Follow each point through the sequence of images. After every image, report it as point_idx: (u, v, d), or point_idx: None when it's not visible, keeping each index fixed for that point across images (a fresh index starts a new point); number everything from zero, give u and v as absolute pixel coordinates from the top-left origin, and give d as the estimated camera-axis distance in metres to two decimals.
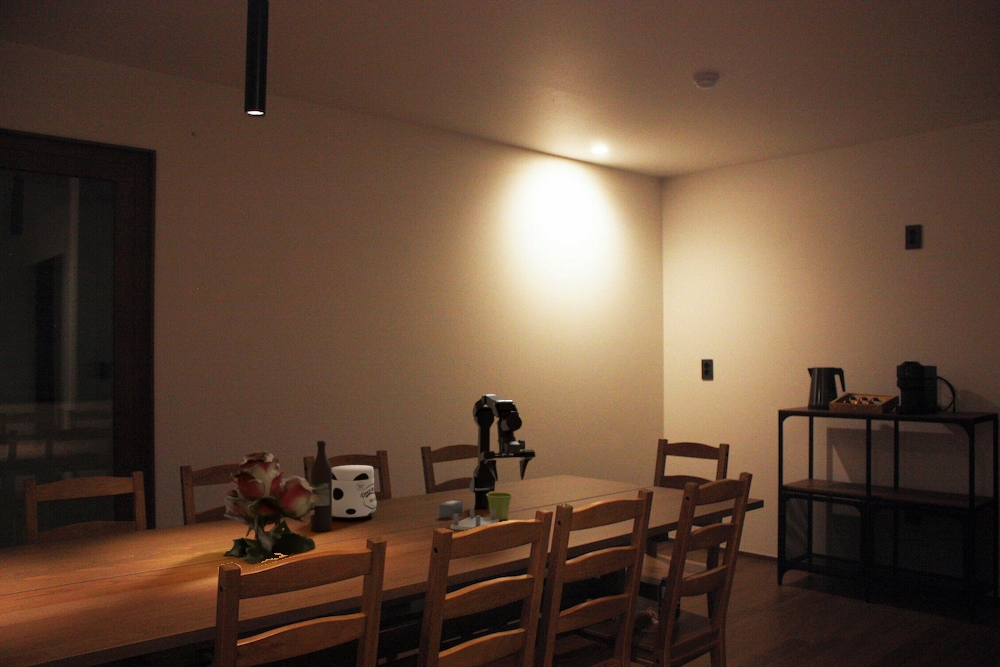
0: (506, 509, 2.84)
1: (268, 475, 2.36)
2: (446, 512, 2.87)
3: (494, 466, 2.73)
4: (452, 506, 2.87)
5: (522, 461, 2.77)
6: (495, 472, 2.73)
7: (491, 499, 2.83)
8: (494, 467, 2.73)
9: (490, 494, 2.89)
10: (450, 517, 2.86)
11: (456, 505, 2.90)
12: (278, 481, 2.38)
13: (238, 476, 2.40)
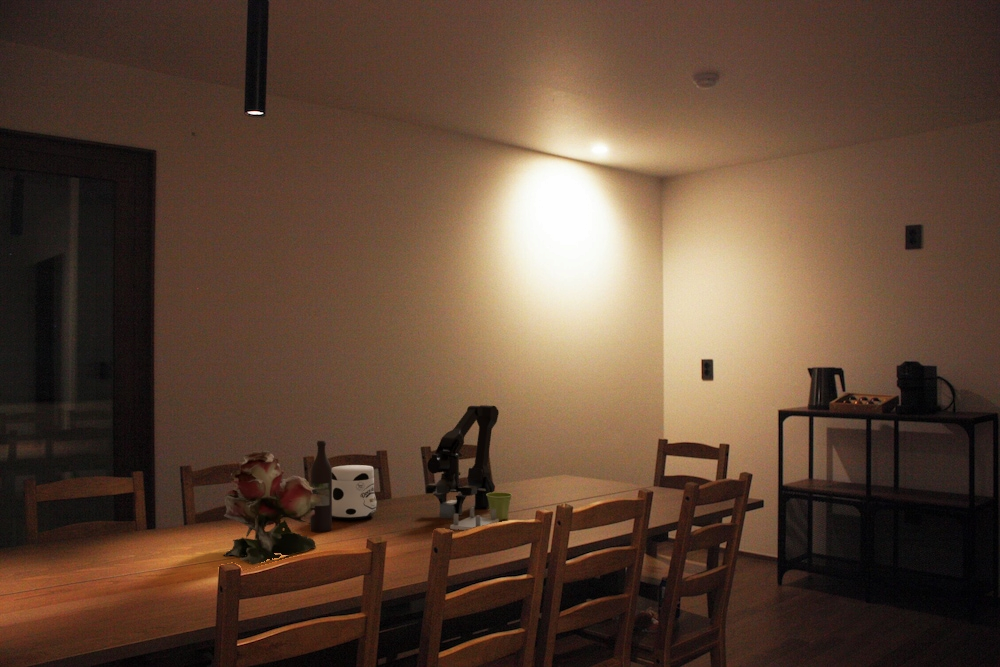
0: (506, 509, 2.84)
1: (268, 475, 2.36)
2: (446, 511, 2.87)
3: (440, 499, 2.91)
4: (452, 505, 2.87)
5: None
6: None
7: (491, 499, 2.83)
8: (440, 500, 2.91)
9: (490, 494, 2.89)
10: (451, 516, 2.86)
11: (456, 504, 2.90)
12: (278, 481, 2.38)
13: (238, 476, 2.39)
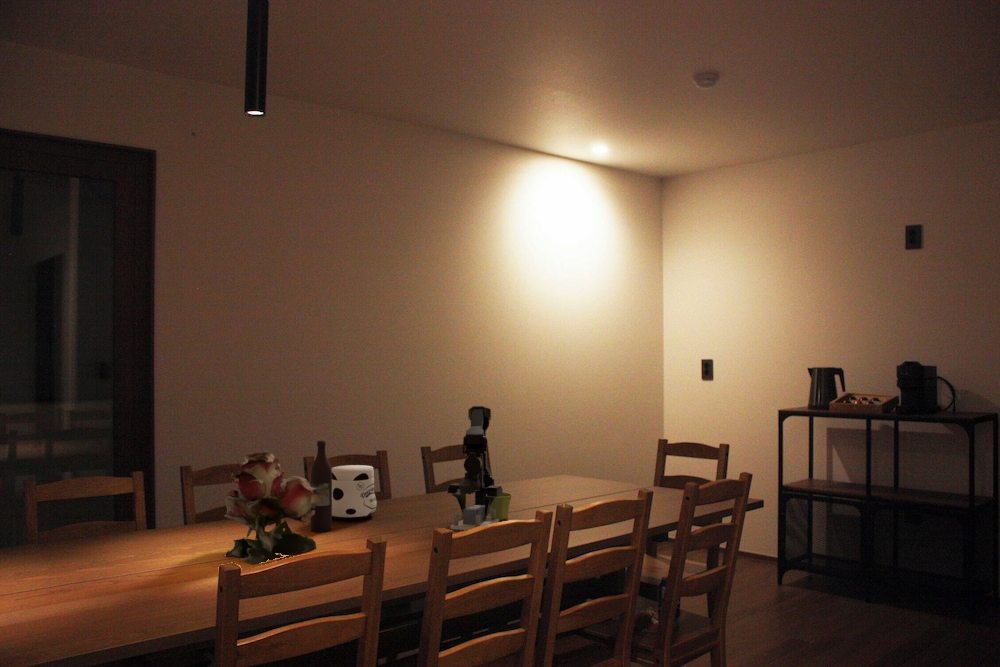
0: (506, 509, 2.84)
1: (269, 475, 2.35)
2: (470, 517, 2.70)
3: (459, 500, 2.75)
4: (477, 511, 2.70)
5: None
6: (460, 505, 2.75)
7: None
8: (459, 501, 2.75)
9: None
10: (474, 523, 2.69)
11: (480, 510, 2.73)
12: (279, 481, 2.38)
13: (239, 476, 2.39)
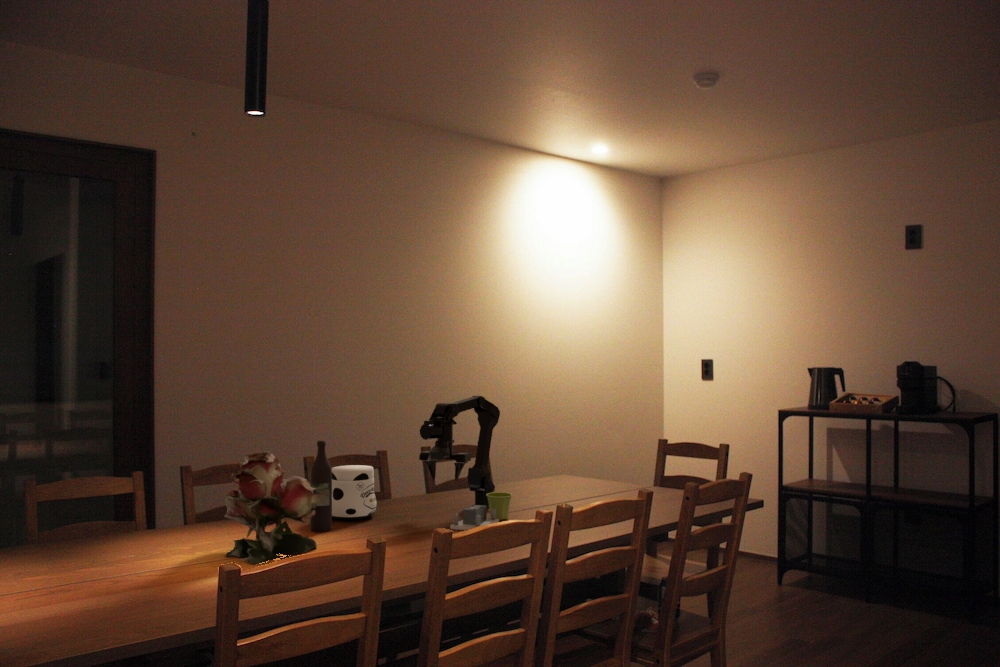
0: (506, 509, 2.84)
1: (269, 475, 2.35)
2: (470, 517, 2.70)
3: (429, 466, 2.92)
4: (477, 511, 2.70)
5: None
6: (431, 472, 2.92)
7: (491, 499, 2.83)
8: (429, 467, 2.92)
9: (490, 494, 2.89)
10: (474, 523, 2.69)
11: (480, 510, 2.73)
12: (279, 481, 2.37)
13: (239, 476, 2.39)
